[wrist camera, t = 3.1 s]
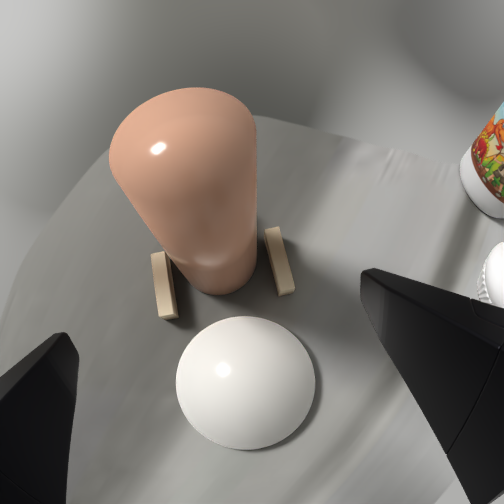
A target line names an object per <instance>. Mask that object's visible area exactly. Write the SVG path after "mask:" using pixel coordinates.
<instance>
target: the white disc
mask: <svg viewBox="0 0 504 504" xmlns="http://www.w3.org/2000/svg"><path fill="white" fill-rule="evenodd" d="M176 390H177V396H178V400H179V404H180V406H181V408H182V411H183V413H184V414H185V416H186V418H187V419H188V421H189V422H190V423H191V425H192V426H193V427H194V428H195V429H196V430H197V431H198V432H199V433H200V434H202V435H203V436H204V437H206V438H207V439H209V440H211V441H213V442H214V443H217V444H219V445H222V446H225V447H228V448H233V449H240V450H251V449H259V448H263V447H268V446H270V445H273V444H275V443H277V442H279V441H281V440H283V439H285V438H286V437H287V436H289V435H290V434H291V433H293V432H294V431H295V430H296V429H297V428H298V427H299V425H300V424H301V423H302V422H303V420H304V419H305V417H306V415H307V414H308V412H309V410H310V407H311V405H312V401H313V398H314V392H315V375H314V369H313V365H312V362H311V359H310V357H309V355H308V353H307V351H306V349H305V348H304V346H303V345H302V344H301V342H300V341H299V340H298V339H297V338H296V337H295V336H294V335H293V334H292V333H291V332H290V331H288V330H287V329H285V328H284V327H282V326H280V325H279V324H277V323H275V322H272V321H270V320H267V319H263V318H259V317H251V316H239V317H232V318H228V319H224V320H221V321H218V322H216V323H214V324H212V325H210V326H208V327H207V328H205V329H204V330H202V331H201V332H200V333H199V334H198V335H196V336H195V337H194V338H193V340H192V341H191V342H190V343H189V344H188V346H187V347H186V349H185V351H184V352H183V355H182V357H181V359H180V362H179V365H178V368H177V375H176Z"/></svg>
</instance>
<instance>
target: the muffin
mask: <svg viewBox="0 0 504 504" xmlns="http://www.w3.org/2000/svg"><path fill="white" fill-rule="evenodd" d="M477 292H478V295H479V298H480V301H481V302H484V303H488V304H491V305H494V306H497V307H501V308H504V242H501V243H499V244H498V245H496V246H495V247H494V248H493V249H492V251H491V252H490V254H489V255H488V257H487V260H485V262H484V265H483V268H482V271H481V273H480V276H479V279H478V282H477Z"/></svg>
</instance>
